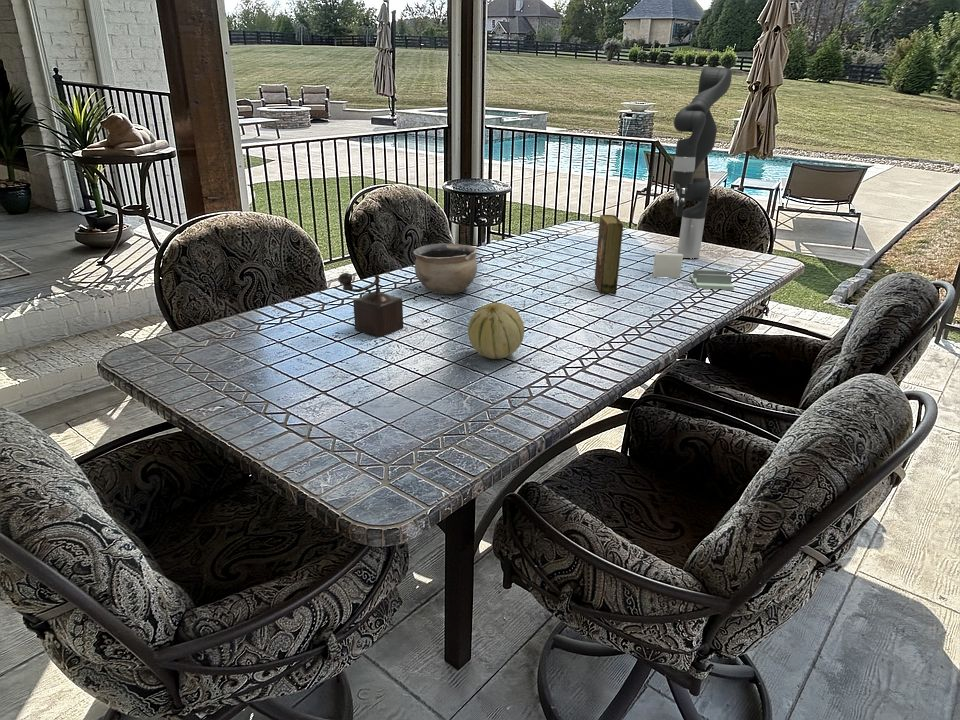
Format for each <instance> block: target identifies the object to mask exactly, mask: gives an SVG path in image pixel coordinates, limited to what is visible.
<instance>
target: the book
mask: <svg viewBox="0 0 960 720" xmlns="http://www.w3.org/2000/svg"><path fill="white" fill-rule="evenodd" d="M623 230H624V222H623V221H622V220H620V218H619V217H617V215H616V214H615V215H614V214H600V215H599V225H598V234H597V235H598V236H597V246H596V257H595V258H596V259H595V267H594V269H595V270H594V282H593V283H595V284H594V286H595V285H596V286H595V288H596V287H597V288H596V290H597V289H598V290H597V291H599V292H598V293H599V294H600V295H604V294H606V295H607V294H608V295H617V289H618V280H619V272H620V260H621V251H622V250H621V249H622V244H623V243H622V242H623Z"/></svg>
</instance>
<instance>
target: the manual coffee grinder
mask: <svg viewBox="0 0 960 720" xmlns="http://www.w3.org/2000/svg"><path fill="white" fill-rule="evenodd" d="M374 278H375V279H374V281H373V282H371V283H370V284H369V285H367V286H364V287H362V288H355V289H354V288H353V285H352V281H353V276H352V274H351V273H349V272H342V273H341V274H339V276H338V279H337V280H338V283H340V285H342V289H343V290H344V291H349V292H352V293H353V292H354V293H361V292H364V291H367V293H366V294H363V295H362V296H360V297H358V298H354V299H353V300H352V302H353V315H354V316H353V317H354V318H353V319H354V330H355V331H356V332H359V333H362V334H365V335H367V336H371V337H376V338H383V337H385V336H388V335H391V334H394V333H396V332H398V331H400V330H403V329H404V310H403V309H404V305H403V298H401V297H398V296H395V295H390V294H387V293H384V292H382V291H380V284H379V283H381V280H380V275H379V274H375V275H374ZM374 287H375V291H371V288H374Z"/></svg>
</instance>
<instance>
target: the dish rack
mask: <svg viewBox="0 0 960 720" xmlns="http://www.w3.org/2000/svg"><path fill="white" fill-rule="evenodd" d="M732 277H733V276H732V275H731V274H728V270H719V269H718V270H717V269H716V270H715V269H693V274H689V277H688V279H689V278H690V279H691V281H692V282H693V283H694V285H695V286H696V287H695V286H694V285H693V286H694V287H695V289H696V288H702V289H701V290H708V289H722V290H721V291H732V290H735V286H734V285H733V284H732ZM690 279H689V280H690ZM691 281H690V282H691ZM692 282H691V283H692ZM693 283H692V284H693Z"/></svg>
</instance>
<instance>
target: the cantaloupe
mask: <svg viewBox="0 0 960 720" xmlns="http://www.w3.org/2000/svg"><path fill="white" fill-rule="evenodd" d="M524 336H525V325H524V321H523V319H522V317H521V316H520V313H519V312H518V311H517V310H516V309H515V308H514V307H512V306H511V305H509V304H507V303H504V302H503V303H502V302H491V303H486V304H484V305H482V306H480V307H479V308H478V309H476V311H474V313H473V314H472V316H471V318H470V319H469V322H468V325H467V337H468V340H469V342H470V344H471V347H472V348H473V349H474V351H475V352H476V353H478V354H479V356H482V357H485V358H487V359H491V360H492V359H493V360H496V359H504V358H506V357H509V356H511V355H513V354H514V353H515V352H516V351H517V350H518V349H519V348H520V347H521V345H522V343H523V340H524Z"/></svg>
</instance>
